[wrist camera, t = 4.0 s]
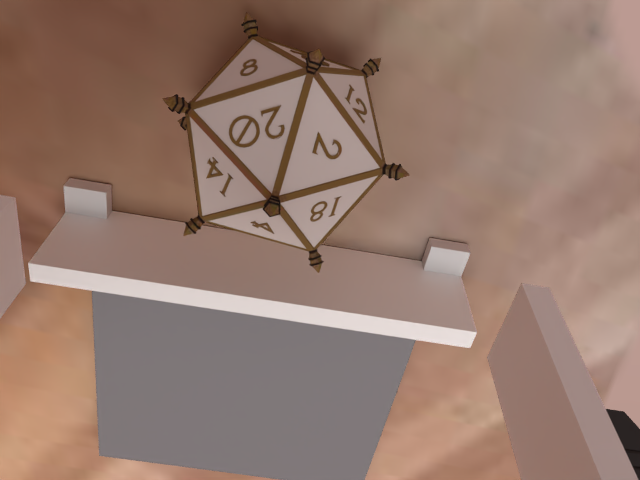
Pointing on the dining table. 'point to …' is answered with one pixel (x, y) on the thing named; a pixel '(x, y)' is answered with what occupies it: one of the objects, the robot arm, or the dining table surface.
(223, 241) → the divider wall
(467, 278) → the dining table surface
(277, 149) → the game die
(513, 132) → the dining table surface
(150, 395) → the mat
